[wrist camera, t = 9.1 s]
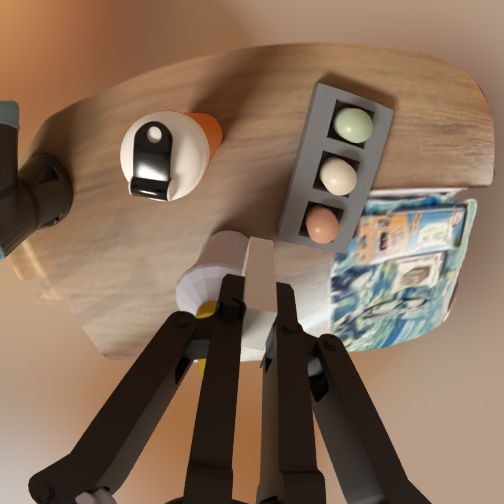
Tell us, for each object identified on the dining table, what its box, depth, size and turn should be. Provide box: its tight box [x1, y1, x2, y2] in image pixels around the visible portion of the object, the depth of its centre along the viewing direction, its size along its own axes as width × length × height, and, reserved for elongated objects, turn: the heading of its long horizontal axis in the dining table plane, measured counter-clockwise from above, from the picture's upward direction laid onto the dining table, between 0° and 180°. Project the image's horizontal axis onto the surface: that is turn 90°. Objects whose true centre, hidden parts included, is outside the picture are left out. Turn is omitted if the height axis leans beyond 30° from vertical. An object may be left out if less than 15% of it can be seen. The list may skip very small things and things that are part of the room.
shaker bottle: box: [120, 111, 223, 201], centre depth 30 cm, size 9×9×20 cm
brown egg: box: [305, 205, 340, 244], centre depth 41 cm, size 5×5×4 cm
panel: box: [276, 83, 394, 254], centre depth 39 cm, size 12×25×3 cm, turn 168°
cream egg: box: [319, 157, 357, 195], centre depth 37 cm, size 5×5×4 cm
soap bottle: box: [175, 230, 250, 380], centre depth 38 cm, size 13×13×25 cm
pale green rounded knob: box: [333, 108, 373, 143], centre depth 33 cm, size 5×5×4 cm
